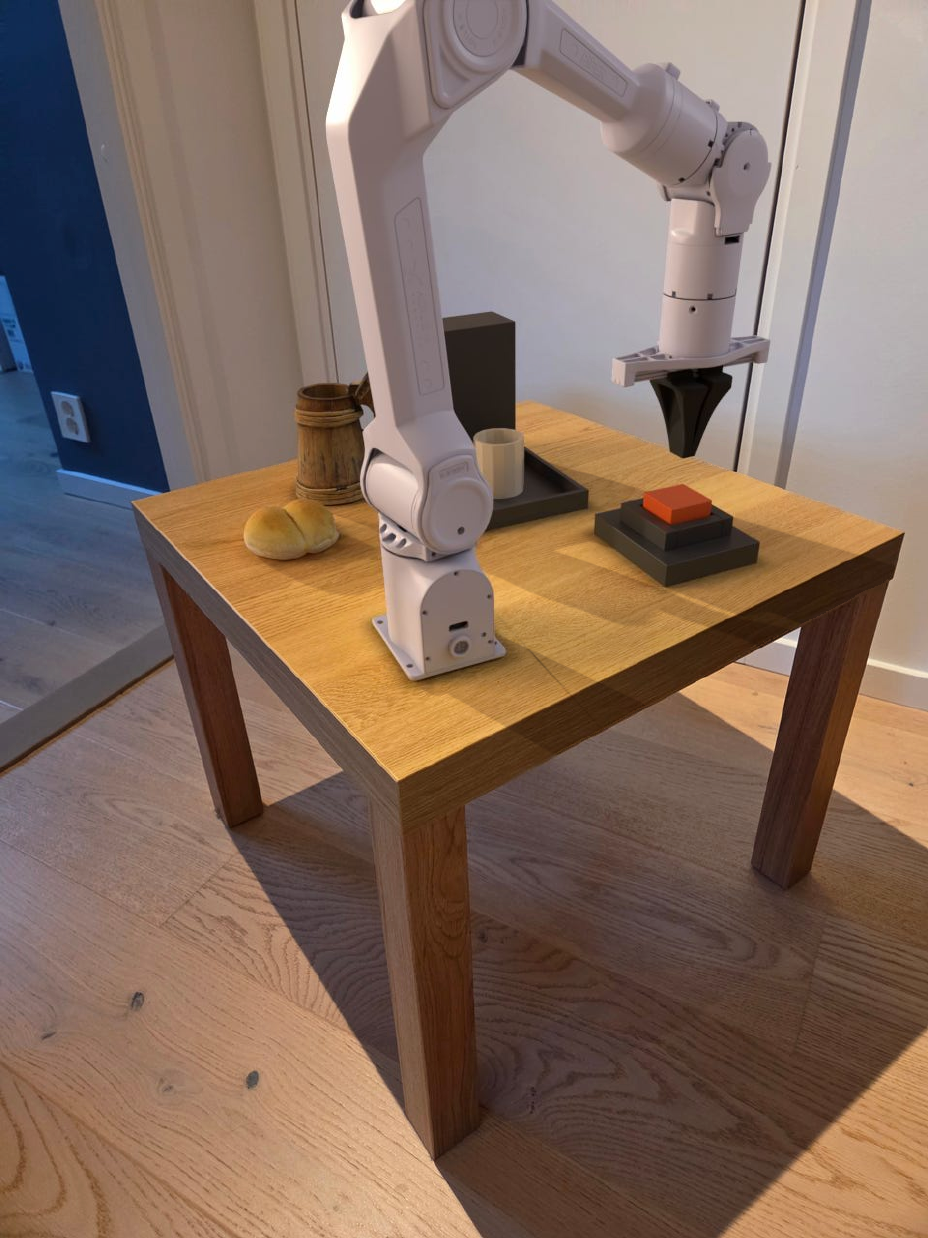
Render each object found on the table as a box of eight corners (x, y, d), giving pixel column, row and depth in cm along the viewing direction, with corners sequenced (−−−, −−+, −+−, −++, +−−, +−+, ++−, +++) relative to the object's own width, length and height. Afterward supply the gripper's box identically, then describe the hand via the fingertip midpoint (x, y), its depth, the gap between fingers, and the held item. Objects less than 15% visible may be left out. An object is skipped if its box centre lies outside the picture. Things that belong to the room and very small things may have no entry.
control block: (756, 563, 78) (763, 523, 75) (664, 588, 74) (669, 547, 72) (678, 513, 87) (682, 477, 85) (593, 534, 84) (595, 496, 82)
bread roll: (238, 537, 86) (231, 500, 84) (324, 518, 89) (319, 483, 87) (257, 571, 79) (249, 533, 77) (348, 550, 82) (344, 512, 80)
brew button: (710, 517, 78) (712, 500, 77) (669, 527, 76) (671, 509, 75) (681, 500, 81) (683, 483, 80) (642, 509, 80) (643, 492, 79)
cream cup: (532, 493, 91) (532, 439, 88) (487, 503, 89) (486, 448, 86) (510, 476, 95) (510, 424, 92) (467, 485, 93) (465, 433, 90)
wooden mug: (407, 508, 90) (395, 334, 81) (285, 504, 92) (259, 334, 83) (422, 476, 98) (412, 313, 88) (309, 473, 100) (287, 313, 90)
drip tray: (588, 508, 89) (588, 489, 88) (472, 534, 84) (472, 515, 83) (521, 461, 101) (522, 444, 100) (417, 481, 96) (416, 464, 95)
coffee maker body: (515, 460, 101) (515, 321, 92) (421, 479, 97) (412, 335, 89) (494, 445, 106) (492, 311, 97) (403, 462, 102) (393, 324, 93)
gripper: (739, 275, 74) (720, 426, 81) (595, 294, 69) (588, 453, 76) (797, 289, 68) (770, 450, 76) (644, 310, 64) (631, 480, 71)
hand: (682, 453), depth 76 cm, fingers closed
